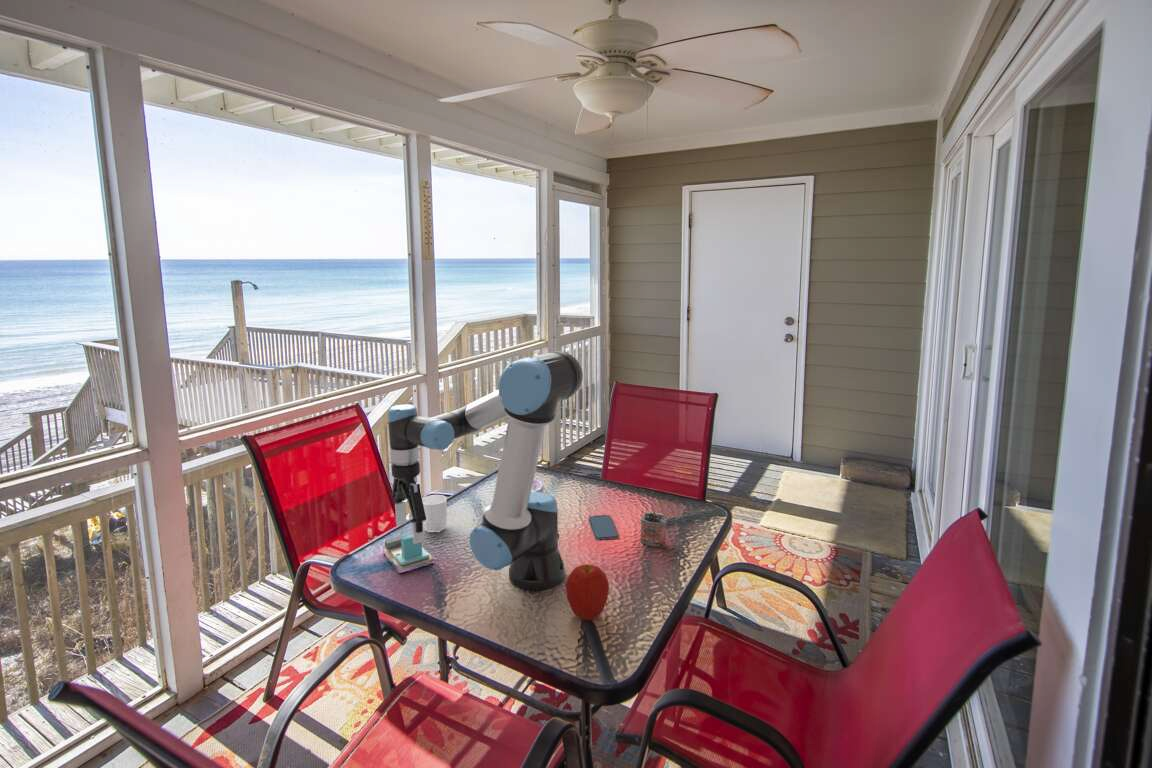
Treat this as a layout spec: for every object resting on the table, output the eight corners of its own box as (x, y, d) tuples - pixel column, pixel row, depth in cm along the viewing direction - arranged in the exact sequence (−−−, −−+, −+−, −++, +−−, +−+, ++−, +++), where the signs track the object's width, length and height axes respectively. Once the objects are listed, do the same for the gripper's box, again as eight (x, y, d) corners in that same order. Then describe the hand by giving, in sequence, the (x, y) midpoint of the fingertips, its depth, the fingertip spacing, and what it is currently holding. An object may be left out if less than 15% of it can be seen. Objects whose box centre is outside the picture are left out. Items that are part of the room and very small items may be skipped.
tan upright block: (638, 542, 178) (638, 512, 176) (642, 538, 181) (642, 507, 179) (663, 548, 174) (664, 517, 172) (667, 543, 177) (668, 512, 175)
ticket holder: (434, 563, 167) (433, 549, 166) (399, 574, 161) (398, 560, 160) (416, 544, 178) (415, 531, 177) (383, 554, 173) (382, 540, 172)
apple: (607, 603, 147) (607, 552, 144) (610, 627, 137) (611, 573, 134) (565, 604, 146) (564, 553, 144) (566, 629, 137) (565, 574, 134)
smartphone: (595, 538, 180) (588, 515, 194) (595, 543, 180) (588, 520, 195) (619, 536, 181) (610, 514, 195) (619, 541, 181) (610, 518, 196)
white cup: (433, 536, 183) (432, 506, 181) (417, 529, 188) (415, 500, 186) (453, 527, 190) (451, 498, 188) (437, 521, 194) (435, 492, 192)
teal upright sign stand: (429, 557, 167) (427, 535, 165) (401, 565, 162) (399, 543, 161) (422, 550, 171) (421, 528, 169) (395, 558, 166) (393, 536, 165)
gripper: (436, 471, 153) (439, 546, 157) (402, 446, 173) (407, 513, 177) (408, 477, 149) (412, 554, 153) (377, 451, 168) (382, 520, 173)
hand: (409, 532), depth 165 cm, fingers open, 13 cm apart
